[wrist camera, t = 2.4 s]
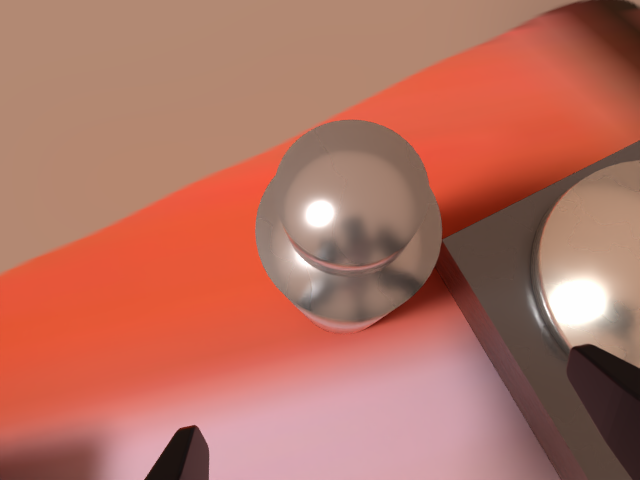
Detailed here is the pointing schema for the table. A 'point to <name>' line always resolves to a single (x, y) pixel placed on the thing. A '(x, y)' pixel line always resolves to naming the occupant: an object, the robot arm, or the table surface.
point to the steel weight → (349, 225)
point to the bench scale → (556, 298)
